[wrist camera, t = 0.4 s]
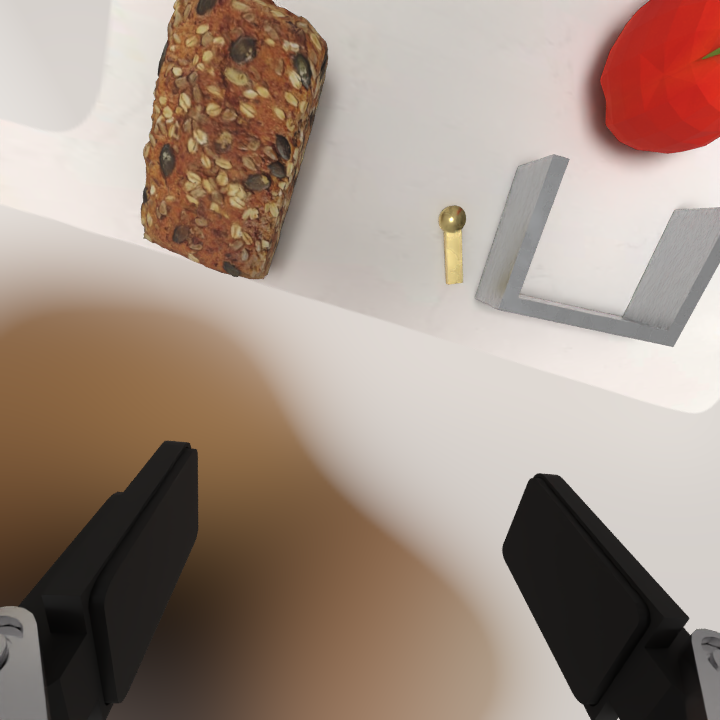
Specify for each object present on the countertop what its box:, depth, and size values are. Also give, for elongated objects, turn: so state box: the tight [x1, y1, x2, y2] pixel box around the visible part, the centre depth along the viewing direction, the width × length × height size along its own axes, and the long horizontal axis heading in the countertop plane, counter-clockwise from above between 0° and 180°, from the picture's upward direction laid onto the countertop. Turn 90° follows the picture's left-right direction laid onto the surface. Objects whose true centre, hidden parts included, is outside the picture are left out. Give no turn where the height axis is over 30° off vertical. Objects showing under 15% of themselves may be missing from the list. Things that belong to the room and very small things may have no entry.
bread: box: [141, 0, 328, 279], centre depth 28 cm, size 19×11×10 cm, turn 158°
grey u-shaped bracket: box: [475, 154, 720, 347], centre depth 35 cm, size 14×20×6 cm
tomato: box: [600, 0, 720, 154], centre depth 28 cm, size 14×13×10 cm
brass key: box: [439, 206, 466, 285], centre depth 37 cm, size 8×3×1 cm, turn 8°
